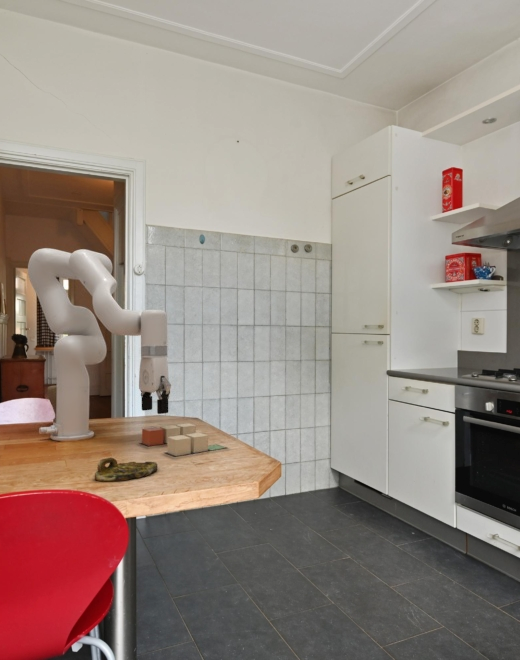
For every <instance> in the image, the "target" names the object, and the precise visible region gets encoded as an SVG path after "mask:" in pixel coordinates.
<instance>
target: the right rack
mask: <svg viewBox="0 0 520 660" xmlns="http://www.w3.org/2000/svg"><path fill="white" fill-rule="evenodd" d="M166 445H167V447H166V448H167V450H166V452H164V454H165V455H167V456H169V457H173V458H179V457H187V456H191V455H197V454H203V453H209V452H214V451H220V450H226V449H228V447H226V446H222V445H219V444H210V445H209V434H207V433H206V434H205V433H201V432H196V433H194V434H187V435H186V436H183V435H179V436H172V437H168V442H167V444H166Z"/></svg>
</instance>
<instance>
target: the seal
mask: <svg viewBox="0 0 520 660" xmlns="http://www.w3.org/2000/svg"><path fill="white" fill-rule="evenodd" d="M106 464H108V465H107V466H106ZM157 469H158V463H157V462H155V461H145V462H136V461H129V462H122V463H121V462H119V463H118V460H117V459H116V458H115V457H107V458H102V459H100V460H99V461H98V463H97V470H96V471H95V473H94V480H95V481H99V482H122V481H127V480H132V479H139V478H143V477H146V476H150V475H151V474H153V473H154V472H155V471H156V470H157Z"/></svg>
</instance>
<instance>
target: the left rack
mask: <svg viewBox="0 0 520 660" xmlns="http://www.w3.org/2000/svg"><path fill="white" fill-rule="evenodd" d="M158 428H161V429H163V444H159V445H152V446H148V445H145V444H143V443H142V442H138V444H139V445H140V446H141V445H142V446H144V447H146V448H151V447H158V446H165V445H167V442H168V437H172V436H179V435H183V436H186V435H187V434H194V433H197V425H196V424H192V423H190V422H188V423H178V424H175V425H173V424H170V425H163V426H162V425H161V426H159V427H158Z"/></svg>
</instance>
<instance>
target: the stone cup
mask: <svg viewBox="0 0 520 660" xmlns="http://www.w3.org/2000/svg"><path fill="white" fill-rule="evenodd" d="M47 397H48V400H49V403H50V405H51V408H52V410H53V413H54V418H53V419H52V423H56V401H57V384H56V385H51V386H48V387H47Z"/></svg>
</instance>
